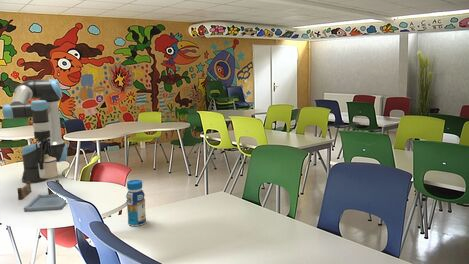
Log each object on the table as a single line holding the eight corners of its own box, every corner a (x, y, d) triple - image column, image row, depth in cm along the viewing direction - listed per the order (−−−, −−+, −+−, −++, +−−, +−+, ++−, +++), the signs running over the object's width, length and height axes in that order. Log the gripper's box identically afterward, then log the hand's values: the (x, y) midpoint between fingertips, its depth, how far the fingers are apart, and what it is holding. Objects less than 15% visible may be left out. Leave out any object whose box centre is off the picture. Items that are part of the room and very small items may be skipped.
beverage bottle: (126, 221, 186) (124, 180, 182) (145, 218, 189) (142, 177, 185) (128, 228, 178) (125, 185, 174) (147, 225, 181) (145, 182, 177)
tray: (38, 198, 220) (38, 195, 220) (72, 196, 222) (72, 193, 222) (24, 211, 200) (23, 208, 200) (61, 209, 202) (61, 206, 202)
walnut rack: (28, 191, 233) (27, 181, 231) (59, 190, 234) (58, 179, 233) (18, 199, 219) (17, 188, 218) (51, 198, 221) (50, 186, 220)
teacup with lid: (61, 175, 210) (59, 153, 208) (45, 179, 202) (42, 157, 200) (49, 172, 217) (47, 151, 215) (32, 176, 209) (30, 154, 207)
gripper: (41, 127, 215) (46, 167, 218) (25, 134, 193) (30, 178, 197) (56, 126, 215) (60, 167, 219) (41, 133, 194) (46, 178, 198)
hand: (46, 172), depth 208 cm, fingers closed on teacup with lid, 9 cm apart
